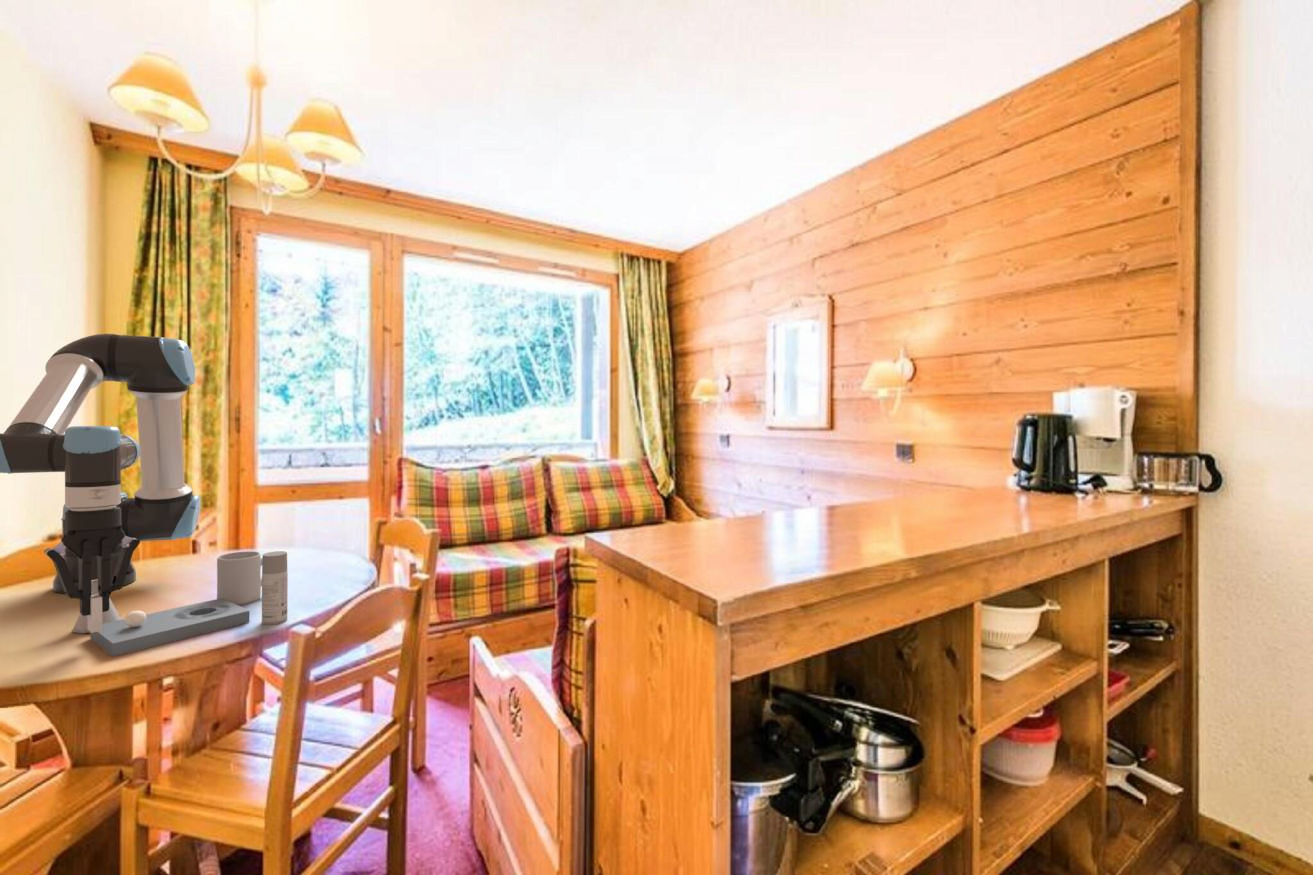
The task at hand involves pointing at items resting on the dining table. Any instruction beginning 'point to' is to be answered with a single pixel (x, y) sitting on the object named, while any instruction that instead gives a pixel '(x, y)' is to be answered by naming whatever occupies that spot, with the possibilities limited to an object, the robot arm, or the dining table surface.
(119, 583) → the robot arm
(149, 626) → the plate
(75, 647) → the dining table surface
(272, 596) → the container
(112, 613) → the flask
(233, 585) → the mug
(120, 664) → the dining table surface
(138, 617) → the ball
